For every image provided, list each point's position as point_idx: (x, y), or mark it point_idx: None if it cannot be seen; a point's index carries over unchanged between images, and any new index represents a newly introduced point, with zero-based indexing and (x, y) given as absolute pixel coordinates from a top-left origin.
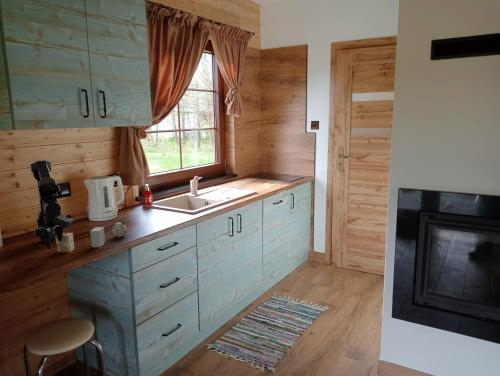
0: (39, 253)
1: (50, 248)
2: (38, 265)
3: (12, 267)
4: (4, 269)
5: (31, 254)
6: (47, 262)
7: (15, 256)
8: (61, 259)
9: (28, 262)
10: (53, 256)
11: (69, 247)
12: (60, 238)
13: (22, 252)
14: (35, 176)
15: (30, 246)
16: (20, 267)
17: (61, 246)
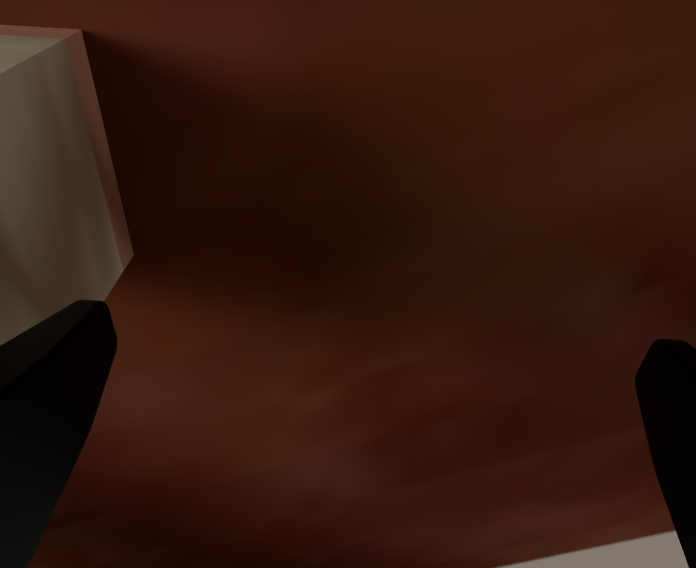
0: (218, 429)
1: (669, 339)
2: (686, 297)
3: (641, 499)
4: (675, 530)
5: (257, 479)
6: (588, 226)
7: (319, 556)
8: (485, 40)
9: (519, 430)
10: (318, 243)
11: (29, 71)
12: (64, 367)
13: (211, 546)
14: None
15: (46, 543)
16: None
17: (69, 248)
